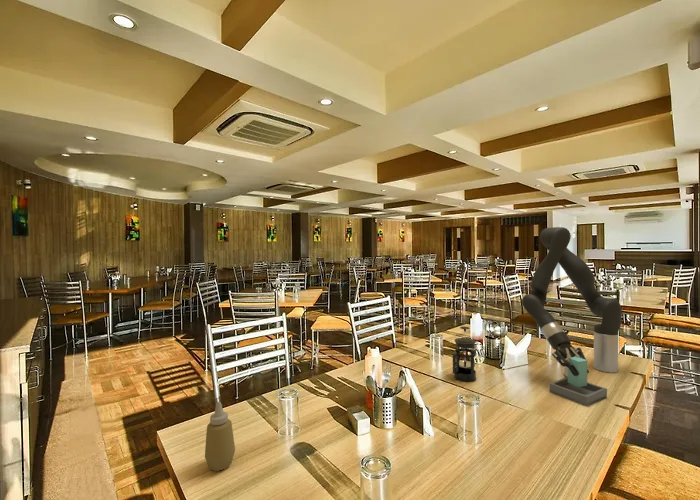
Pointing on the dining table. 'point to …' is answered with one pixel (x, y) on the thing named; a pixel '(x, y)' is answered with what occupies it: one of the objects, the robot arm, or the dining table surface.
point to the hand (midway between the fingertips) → (582, 374)
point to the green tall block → (582, 369)
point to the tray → (578, 392)
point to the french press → (465, 368)
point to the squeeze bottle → (219, 440)
